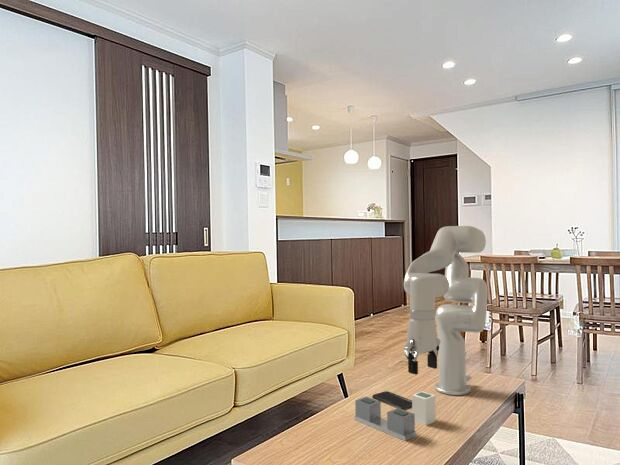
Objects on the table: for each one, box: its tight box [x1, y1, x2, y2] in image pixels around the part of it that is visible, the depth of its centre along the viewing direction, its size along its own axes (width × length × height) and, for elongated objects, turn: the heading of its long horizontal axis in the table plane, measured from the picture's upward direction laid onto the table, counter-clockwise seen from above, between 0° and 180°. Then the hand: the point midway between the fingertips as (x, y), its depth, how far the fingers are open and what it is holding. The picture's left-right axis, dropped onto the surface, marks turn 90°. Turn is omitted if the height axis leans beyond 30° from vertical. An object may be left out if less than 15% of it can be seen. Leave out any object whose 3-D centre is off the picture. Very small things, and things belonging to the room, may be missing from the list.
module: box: [411, 390, 436, 426], centre depth 144 cm, size 5×5×8 cm
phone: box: [371, 390, 412, 411], centre depth 161 cm, size 8×1×15 cm
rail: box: [354, 396, 417, 442], centre depth 140 cm, size 5×20×6 cm, turn 40°
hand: (422, 370), depth 144 cm, fingers open, 9 cm apart
